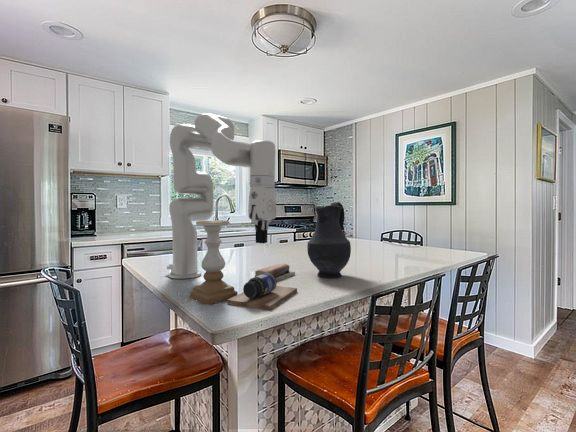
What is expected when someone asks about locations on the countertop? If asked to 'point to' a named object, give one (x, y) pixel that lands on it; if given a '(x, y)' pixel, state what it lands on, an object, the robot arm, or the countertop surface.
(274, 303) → the walnut board
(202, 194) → the robot arm
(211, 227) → the candle holder
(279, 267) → the butter dish
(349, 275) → the countertop surface
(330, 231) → the pitcher
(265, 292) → the pill bottle
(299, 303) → the countertop surface
